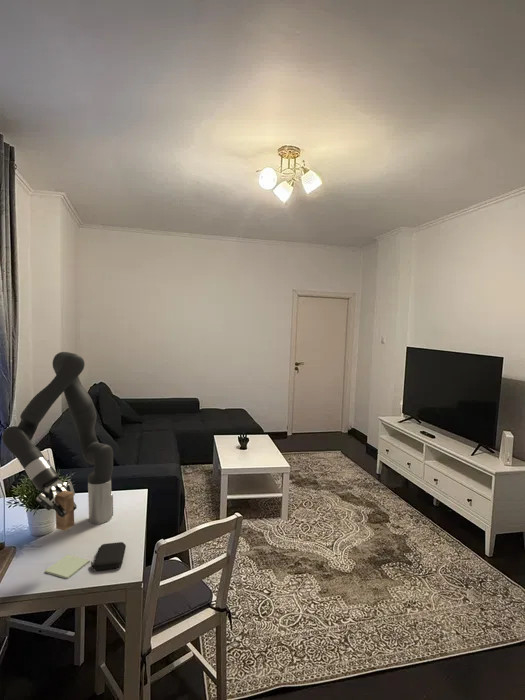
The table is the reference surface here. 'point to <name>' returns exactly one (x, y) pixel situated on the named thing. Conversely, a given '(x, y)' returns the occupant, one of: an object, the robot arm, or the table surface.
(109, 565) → the carrying case or bag
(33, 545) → the table surface
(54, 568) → the sage mat
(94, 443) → the robot arm
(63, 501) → the walnut handle block
